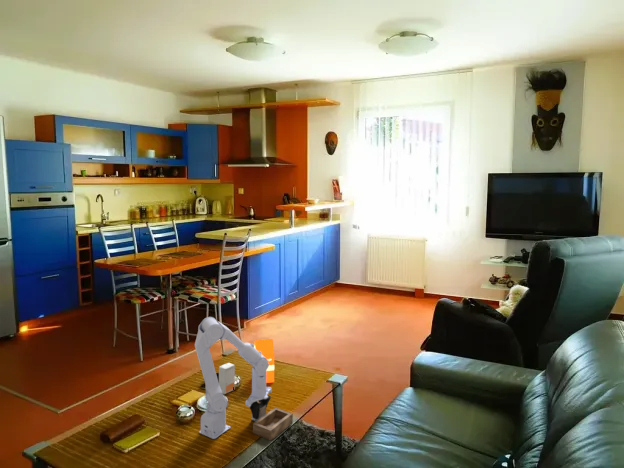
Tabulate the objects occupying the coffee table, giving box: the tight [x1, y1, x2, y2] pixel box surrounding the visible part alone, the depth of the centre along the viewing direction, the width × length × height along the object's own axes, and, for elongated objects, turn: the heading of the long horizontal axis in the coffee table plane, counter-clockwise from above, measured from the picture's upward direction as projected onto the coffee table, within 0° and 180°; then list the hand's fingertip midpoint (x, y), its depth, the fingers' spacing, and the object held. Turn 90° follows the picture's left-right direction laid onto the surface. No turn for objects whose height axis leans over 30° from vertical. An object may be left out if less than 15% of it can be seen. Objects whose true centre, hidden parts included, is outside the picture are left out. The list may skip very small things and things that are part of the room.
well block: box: [252, 407, 294, 441], centre depth 183 cm, size 14×8×4 cm, turn 148°
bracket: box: [251, 401, 267, 422], centre depth 189 cm, size 4×4×7 cm
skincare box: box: [218, 362, 236, 395], centre depth 212 cm, size 6×4×12 cm
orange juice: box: [253, 338, 275, 384], centre depth 223 cm, size 8×9×20 cm
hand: (259, 415), depth 189 cm, fingers closed on bracket, 4 cm apart
